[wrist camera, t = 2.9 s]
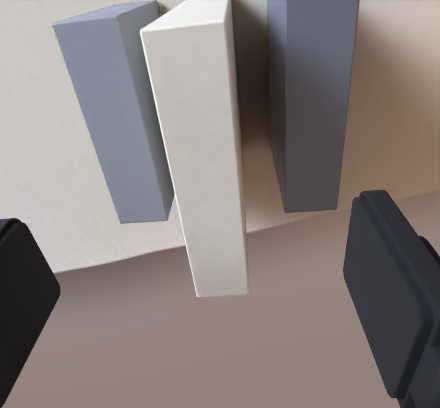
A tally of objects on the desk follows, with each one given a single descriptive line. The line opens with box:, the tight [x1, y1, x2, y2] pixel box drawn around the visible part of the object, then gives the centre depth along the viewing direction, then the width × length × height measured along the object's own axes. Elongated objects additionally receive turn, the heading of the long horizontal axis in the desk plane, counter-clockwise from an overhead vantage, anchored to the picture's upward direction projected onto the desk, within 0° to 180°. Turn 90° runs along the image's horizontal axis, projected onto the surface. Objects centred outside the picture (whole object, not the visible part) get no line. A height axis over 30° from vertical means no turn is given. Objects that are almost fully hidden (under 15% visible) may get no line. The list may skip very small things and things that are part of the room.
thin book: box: [140, 0, 250, 297], centre depth 18 cm, size 2×11×15 cm, turn 6°
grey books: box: [52, 0, 359, 224], centre depth 21 cm, size 13×11×9 cm
